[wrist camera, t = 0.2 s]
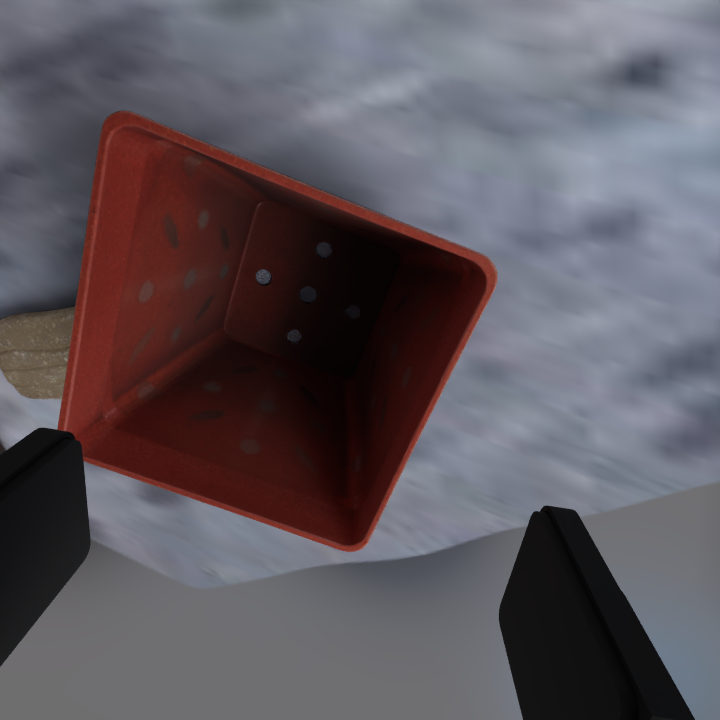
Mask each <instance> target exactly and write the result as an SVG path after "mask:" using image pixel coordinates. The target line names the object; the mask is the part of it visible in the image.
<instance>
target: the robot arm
mask: <svg viewBox="0 0 720 720" xmlns="http://www.w3.org/2000/svg"><path fill="white" fill-rule="evenodd" d="M89 549H90V530H89V519H88V508H87V497H86V485H85V474H84V463H83V452H82V445H81V443H80V441H78V440H75V436H74V435H73V433H71V432H68V431H61V430H55V429H48V428H38V429H36V430H34V431H33V432H32V433H30V434H29V435H27V436H26V437H25V438H23V439H22V440H21V441H19V442H18V443H16V444H15V445H14V446H12V447H11V448H9V449H8V450H7V451H5V452H4V453H2V454H1V455H0V666H1V665H2V664H3V662H4V661H5V660H6V659H7V658H8V656H9V655H10V654H11V653H12V651H13V650H14V649H15V648H16V646H17V645H18V643H19V642H20V641H21V640H22V639H23V637H24V636H25V635H26V634H27V632H28V631H29V630H30V628H31V627H32V626H33V625H34V623H35V622H36V621H37V620H38V618H39V617H40V616H41V615H42V613H43V612H44V611H45V610H46V608H47V607H48V606H49V605H50V603H51V602H52V600H53V599H54V598H55V597H56V596H57V594H58V593H59V592H60V591H61V589H62V588H63V587H64V585H65V584H66V583H67V582H68V580H69V579H70V578H71V577H72V575H73V574H74V573H75V572H76V570H77V569H78V568H79V567H80V565H81V564H82V563H83V561H84V560H85V558H86V557H87V554H88V552H89ZM499 623H500V628H501V632H502V636H503V640H504V644H505V648H506V652H507V656H508V660H509V664H510V669H511V673H512V676H513V681H514V685H515V689H516V693H517V697H518V701H519V705H520V709H521V713H522V716H523V720H695V719H694V717H693V715H692V713H691V712H690V710H689V708H688V706H687V705H686V703H685V701H684V699H683V698H682V696H681V694H680V692H679V690H678V689H677V687H676V685H675V683H674V682H673V680H672V678H671V676H670V675H669V673H668V671H667V669H666V668H665V666H664V664H663V662H662V660H661V658H660V657H659V655H658V653H657V651H656V650H655V648H654V646H653V644H652V642H651V641H650V639H649V637H648V635H647V634H646V632H645V630H644V628H643V627H642V625H641V624H640V621H639V620H638V618H637V616H636V614H635V612H634V611H633V609H632V607H631V605H630V604H629V602H628V600H627V598H626V596H625V595H624V594H623V592H622V591H621V590H620V588H619V586H618V585H617V583H616V581H615V579H614V578H613V576H612V574H611V572H610V571H609V568H608V567H607V565H606V563H605V561H604V560H603V558H602V556H601V554H600V552H599V551H598V549H597V547H596V546H595V544H594V542H593V540H592V538H591V536H590V535H589V533H588V531H587V529H586V528H585V526H584V524H583V522H582V520H581V519H580V517H579V515H578V514H577V512H576V511H574V510H572V509H566V508H559V507H553V506H544V507H543V508H542V509H541V511H540V512H538V511H535V512H533V514H532V516H531V518H530V521H529V524H528V527H527V529H526V532H525V536H524V538H523V541H522V544H521V547H520V550H519V553H518V555H517V558H516V561H515V564H514V567H513V570H512V573H511V576H510V578H509V582H508V584H507V587H506V590H505V593H504V596H503V599H502V602H501V604H500V609H499Z"/></svg>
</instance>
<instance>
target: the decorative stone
mask: <svg viewBox="0 0 720 720" xmlns="http://www.w3.org/2000/svg"><path fill="white" fill-rule="evenodd" d="M74 313H75V306H73V307H68V308H63V309H57V310H50V311H42V312H30V313H17V314H13V315H10V316H7V317H5V318H2V319H0V368H1V370H2V372H3V374H4V376H5V378H6V379H7V381H8V382H9V383H11V384H12V385H13V386H14V387H15V389H16V390H17V391H18V392H19V393H20V394H21V395H23V396H25V397H27V398H32V399H51V398H52V399H62V395H63V389H64V382H65V376H66V369H67V361H68V354H69V348H70V341H71V335H72V327H73V320H74Z"/></svg>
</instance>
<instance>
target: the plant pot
mask: <svg viewBox="0 0 720 720" xmlns="http://www.w3.org/2000/svg"><path fill="white" fill-rule="evenodd" d="M321 242H326V243H328V244H330V245H331V247H332V254H331V256H330V257H329V258H327V259H322V258H320V257H319V256H317V254H316V246H317V245H318V244H319V243H321ZM262 269H265V270H267V271H269V272H270V273H271V275H272V281H271V283H270V284H269V285H266V286H263V285H260V284H259V283H258V282H257V280H256V273H257V272H258V271H259V270H262ZM496 285H497V270H496V267H495V265H494V264H493V262H492V261H491V259H490V258H488V257H487V256H485V255H483V254H481V253H479V252H476V251H474V250H471V249H469V248H466V247H464V246H461V245H459V244H456V243H454V242H451V241H448V240H446V239H443V238H441V237H438V236H436V235H433V234H431V233H428V232H426V231H423V230H421V229H418V228H415V227H413V226H410V225H408V224H405V223H403V222H400V221H398V220H395V219H393V218H390V217H388V216H385V215H383V214H380V213H377V212H375V211H372V210H370V209H367V208H365V207H362V206H360V205H357V204H355V203H352V202H350V201H347V200H345V199H342V198H340V197H337V196H335V195H332V194H330V193H327V192H325V191H322V190H320V189H318V188H315V187H313V186H310V185H308V184H305V183H303V182H300V181H298V180H295V179H293V178H290V177H288V176H286V175H283V174H281V173H278V172H276V171H273V170H271V169H268V168H266V167H263V166H261V165H259V164H256V163H254V162H251V161H249V160H246V159H244V158H241V157H239V156H237V155H234V154H232V153H229V152H227V151H225V150H222V149H220V148H217V147H215V146H213V145H210V144H208V143H205V142H203V141H200V140H198V139H196V138H193V137H191V136H188V135H186V134H184V133H181V132H179V131H176V130H174V129H172V128H169V127H167V126H164V125H162V124H160V123H157V122H155V121H153V120H150V119H148V118H146V117H143V116H141V115H138V114H136V113H133V112H130V111H118V112H115V113H113V114H111V115H110V116H108V117H107V118H106V120H105V121H104V123H103V126H102V130H101V135H100V140H99V146H98V152H97V158H96V165H95V171H94V178H93V185H92V191H91V198H90V206H89V213H88V221H87V228H86V235H85V242H84V249H83V256H82V263H81V271H80V279H79V285H78V292H77V298H76V306H75V313H74V320H73V327H72V335H71V341H70V348H69V354H68V361H67V369H66V376H65V382H64V389H63V395H62V402H61V409H60V415H59V422H58V430H61V431H68V432H71V433H73V435H74V436H75V440H78V441H80V443H81V445H82V452H83V461H85V462H87V463H90V464H93V465H95V466H99V467H102V468H105V469H108V470H111V471H114V472H117V473H119V474H122V475H125V476H128V477H131V478H134V479H137V480H140V481H142V482H145V483H148V484H151V485H154V486H157V487H160V488H163V489H166V490H169V491H172V492H174V493H177V494H180V495H184V496H187V497H190V498H193V499H195V500H198V501H201V502H204V503H207V504H210V505H213V506H216V507H219V508H222V509H224V510H227V511H230V512H233V513H236V514H239V515H242V516H245V517H248V518H250V519H253V520H256V521H259V522H262V523H265V524H268V525H270V526H273V527H276V528H279V529H282V530H285V531H287V532H290V533H293V534H296V535H299V536H301V537H304V538H307V539H310V540H313V541H315V542H318V543H321V544H324V545H328V546H331V547H333V548H335V549H338V550H342V551H346V552H355V551H358V550H361V549H363V548H364V547H365V546H366V545H367V544H368V542H369V540H370V538H371V536H372V534H373V532H374V530H375V528H376V526H377V524H378V522H379V520H380V518H381V515H382V513H383V511H384V509H385V507H386V505H387V503H388V501H389V499H390V497H391V495H392V493H393V491H394V488H395V486H396V484H397V482H398V480H399V478H400V476H401V474H402V472H403V470H404V468H405V466H406V464H407V462H408V459H409V457H410V455H411V453H412V451H413V449H414V447H415V445H416V443H417V441H418V439H419V437H420V435H421V433H422V431H423V429H424V427H425V425H426V423H427V421H428V419H429V417H430V415H431V413H432V411H433V409H434V407H435V405H436V403H437V401H438V400H439V398H440V396H441V394H442V392H443V390H444V388H445V385H446V383H447V381H448V379H449V377H450V376H451V374H452V372H453V370H454V368H455V366H456V364H457V362H458V360H459V358H460V356H461V354H462V352H463V350H464V348H465V346H466V344H467V342H468V340H469V339H470V337H471V335H472V333H473V331H474V329H475V327H476V325H477V323H478V321H479V319H480V317H481V315H482V313H483V311H484V309H485V307H486V305H487V303H488V302H489V300H490V298H491V296H492V294H493V292H494V290H495V288H496ZM305 286H310V287H313V288H314V289H316V291H317V293H318V297H317V300H316V301H315V302H314V303H312V304H305V303H303V302H302V301H301V299H300V297H299V292H300V290H301V289H302V288H304V287H305ZM350 305H357V306H358V307H359V309H360V316H359V317H358V318H356V319H353V320H352V319H348V318H347V317H346V315H345V312H344V311H345V309H346V307H347V306H350ZM292 329H296V330H298V331H299V332H300V333H301V335H302V339H301V341H300V342H299V343H298V344H293V343H290V342H289V341H288V340H287V338H286V336H287V333H288V332H290V331H291V330H292Z"/></svg>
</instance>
